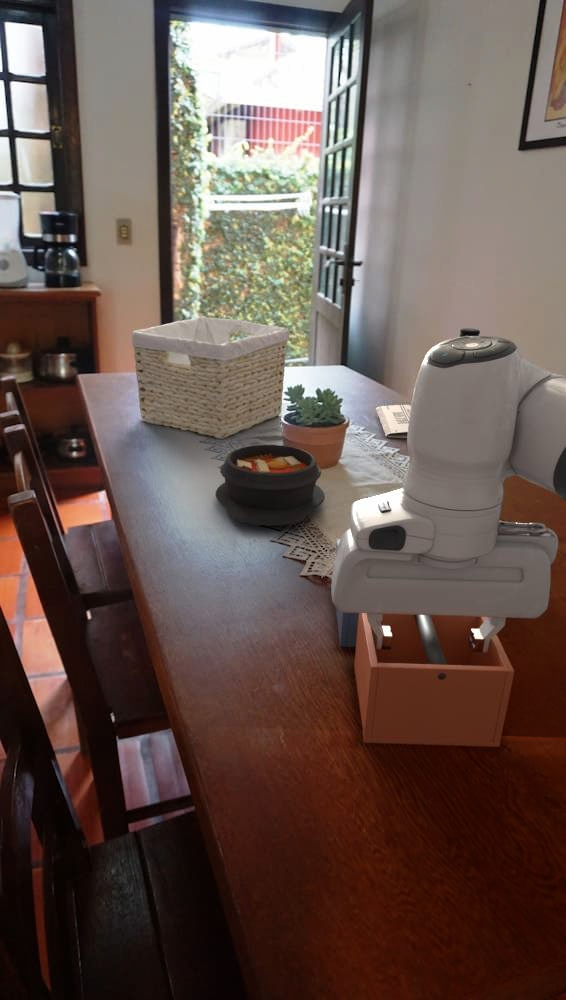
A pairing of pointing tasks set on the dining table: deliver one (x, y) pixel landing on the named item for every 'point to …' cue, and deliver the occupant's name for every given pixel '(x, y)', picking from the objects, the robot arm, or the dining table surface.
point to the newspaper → (394, 420)
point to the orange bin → (431, 683)
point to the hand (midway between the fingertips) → (430, 647)
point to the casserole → (270, 485)
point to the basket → (210, 374)
